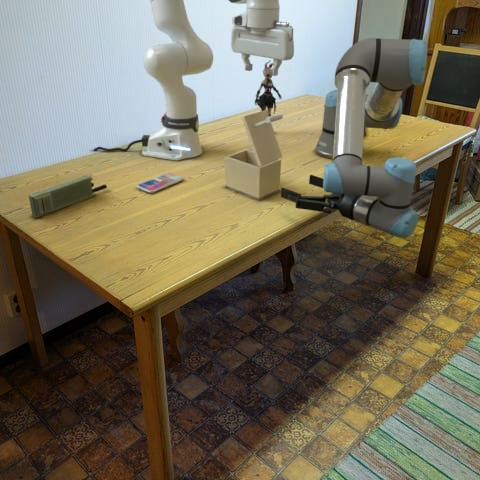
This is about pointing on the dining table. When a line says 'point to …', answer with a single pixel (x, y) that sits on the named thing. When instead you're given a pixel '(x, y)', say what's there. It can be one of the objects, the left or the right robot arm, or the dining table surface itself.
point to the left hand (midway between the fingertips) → (260, 72)
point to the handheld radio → (62, 195)
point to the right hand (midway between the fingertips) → (296, 185)
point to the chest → (251, 175)
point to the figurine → (267, 92)
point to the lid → (263, 136)
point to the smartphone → (159, 182)
